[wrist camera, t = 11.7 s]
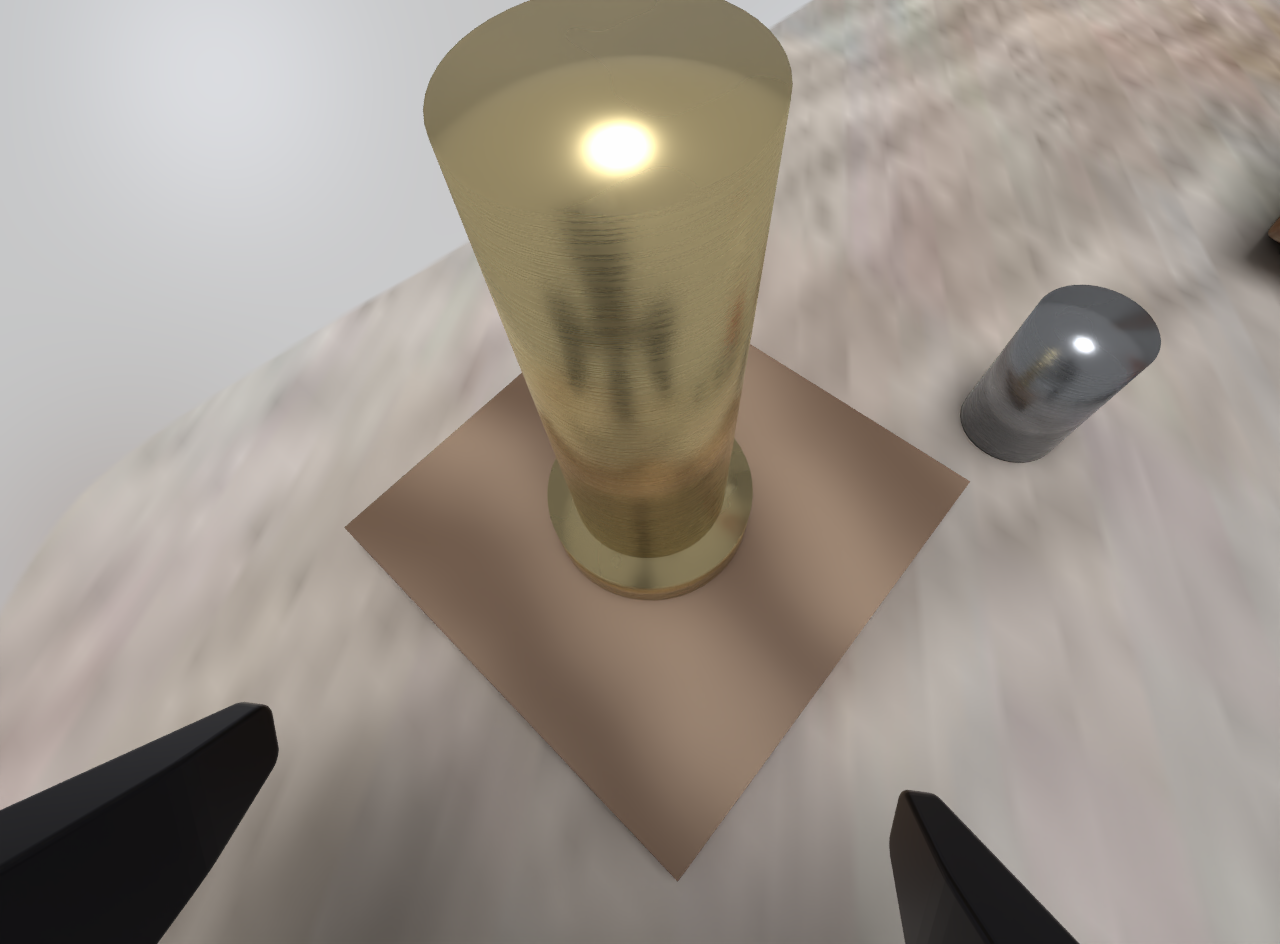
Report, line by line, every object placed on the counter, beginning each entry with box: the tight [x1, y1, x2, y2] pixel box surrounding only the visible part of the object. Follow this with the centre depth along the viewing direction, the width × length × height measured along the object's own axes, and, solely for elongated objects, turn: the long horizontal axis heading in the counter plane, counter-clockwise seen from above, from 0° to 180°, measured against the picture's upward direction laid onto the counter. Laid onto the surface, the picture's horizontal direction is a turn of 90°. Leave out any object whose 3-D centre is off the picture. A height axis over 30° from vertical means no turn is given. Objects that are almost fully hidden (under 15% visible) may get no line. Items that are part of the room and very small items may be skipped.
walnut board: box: [344, 344, 970, 881], centre depth 19 cm, size 14×14×2 cm
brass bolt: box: [423, 0, 793, 601], centre depth 13 cm, size 6×6×13 cm
